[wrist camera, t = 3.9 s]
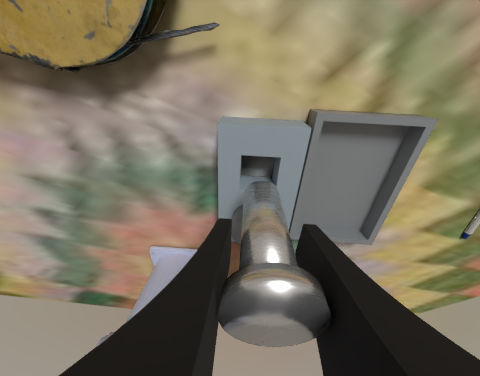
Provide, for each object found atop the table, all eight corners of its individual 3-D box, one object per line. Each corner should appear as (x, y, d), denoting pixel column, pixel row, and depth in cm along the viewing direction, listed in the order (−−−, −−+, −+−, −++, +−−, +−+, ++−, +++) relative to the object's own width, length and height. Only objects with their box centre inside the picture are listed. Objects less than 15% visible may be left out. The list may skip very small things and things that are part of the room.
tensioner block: (281, 226, 22) (287, 257, 19) (222, 222, 23) (216, 252, 19) (302, 121, 17) (318, 132, 13) (222, 116, 17) (213, 127, 13)
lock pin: (283, 218, 14) (315, 350, 7) (234, 215, 14) (218, 342, 7) (292, 173, 12) (346, 291, 5) (236, 170, 12) (217, 282, 5)
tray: (362, 232, 22) (371, 244, 21) (285, 226, 22) (288, 239, 21) (417, 115, 16) (438, 119, 14) (310, 109, 16) (317, 112, 14)
